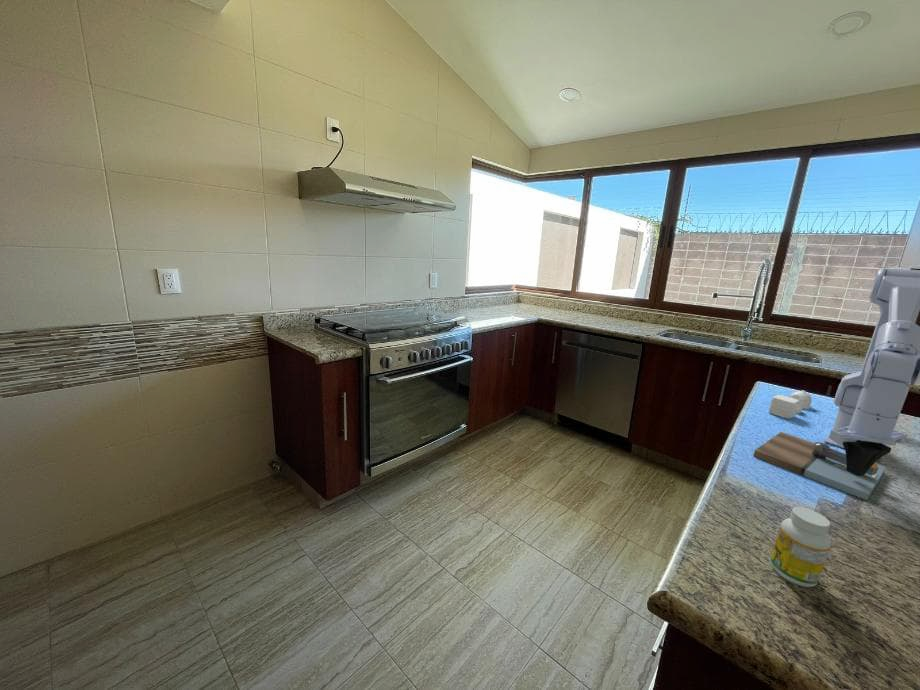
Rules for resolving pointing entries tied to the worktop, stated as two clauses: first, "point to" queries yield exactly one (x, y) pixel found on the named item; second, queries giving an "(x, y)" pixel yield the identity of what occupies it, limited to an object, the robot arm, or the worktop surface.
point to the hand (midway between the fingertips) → (854, 473)
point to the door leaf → (843, 477)
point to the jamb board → (787, 452)
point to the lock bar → (837, 456)
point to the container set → (790, 404)
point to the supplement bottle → (801, 547)
